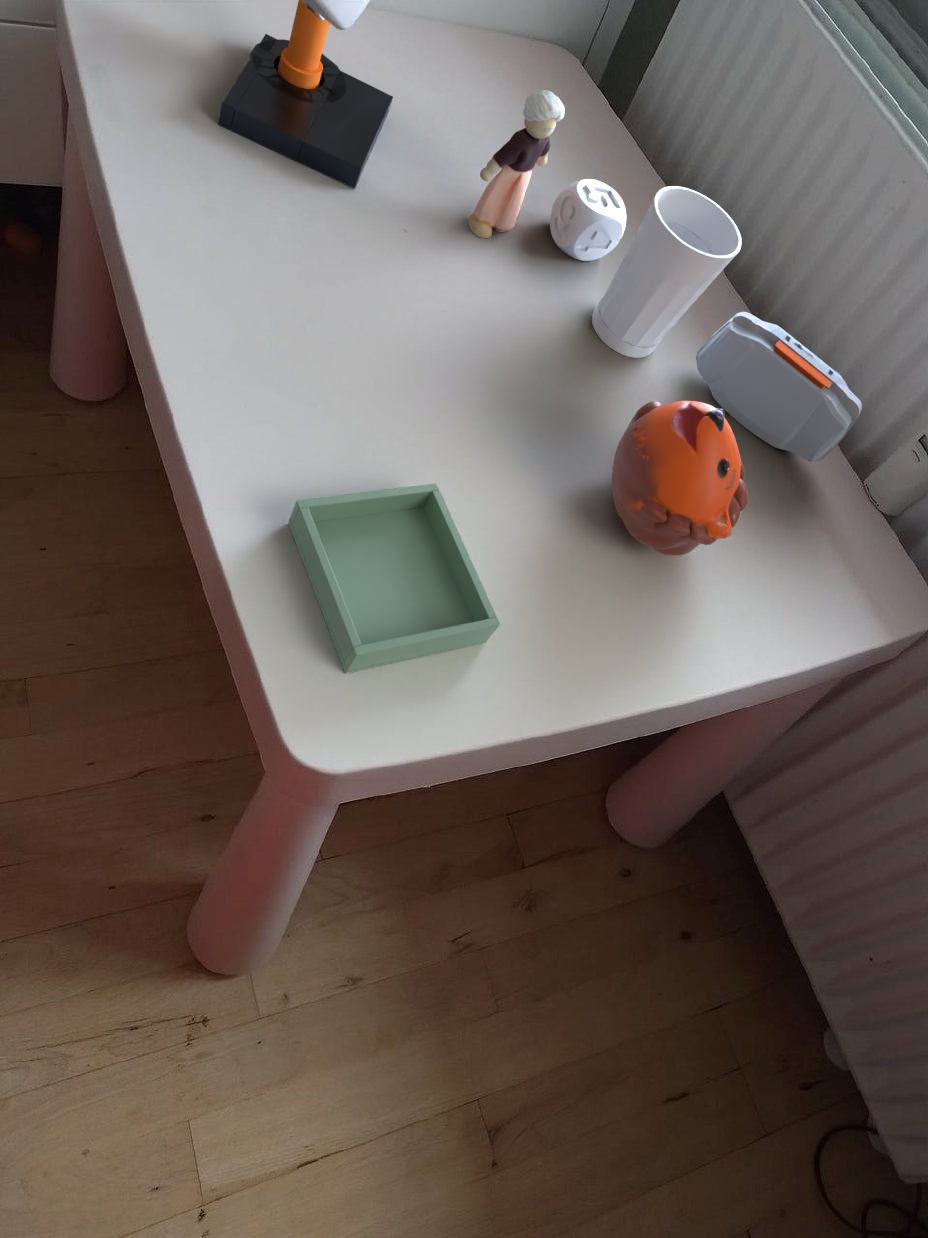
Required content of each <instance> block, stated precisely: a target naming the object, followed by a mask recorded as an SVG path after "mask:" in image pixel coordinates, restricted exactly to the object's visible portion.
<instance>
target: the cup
mask: <svg viewBox="0 0 928 1238" xmlns="http://www.w3.org/2000/svg"><path fill="white" fill-rule="evenodd" d="M641 220H642V221H641V223H640V224H639V226H638V228H637V231H636V234H635V237H634V239H633V240H632V242H631V244H630V246H629V248H628V250H627V251H626V254H625V255H624V257H623V259H622V261H621V262H620V265H619V267H618V269H617V270H616V272H615V274H614V276H613V278H612V280H611V282H610V283H609V285H608V287H607V289H606V291H605V293H604V295H603V296H602V298H601V299H600V300H599V302H598V304H597V305H596V306H595V308H594V310H593V312H592V314H591V324H592V327H593V329H594V332H596V335H597V336H598V338H599V339H600V340H601V341H602V342H603V343H604V344H605V345H606V346H607V347H609V348H610V349H611V350H613V351H615V352H616V353H618V354H620V355H623V356H625V357H629V358H634V359H641V358H645V357H648V356H649V355H651V354H652V352H653V351H654V350H655V348H656V347H657V346H658V344H659V343H660V342H661V341H662V340H663V338H664V337H665V336H666V335H667V334H668V333H669V332H670V330H671V329H673V327H674V326H675V325H676V324H677V323H678V322H679V320H680V319H681V318H682V317H683V316H684V314H685V313H686V312H687V311H688V310H689V309H690V307H692V306H693V304H694V303H695V302H696V301H697V300H698V298H699V297H700V296H701V295H702V294H703V293H704V292H705V291H706V289H707V288H708V287H709V286H710V285H711V284H712V283H713V281H714V280H715V279H716V278H717V277H718V276H719V275H720V274H721V272H722V271H724V269H725V268H726V267H727V266H729V264H730V263H731V262H732V260H733V259H734V258H735V257H736V256H737V255H738V254H739V252H741V251H740V250H741V249H742V235H741V233H740V230H739V228H738V226H737V224H736V223H735V221H734V220H733V218H732V217H731V216H730V214H728V213H727V212H726V211H725V210H724V209H723V208H722V207H721V206H720V205H719V204H718V203H716V202H715V201H714V200H712V199H711V198H709V197H707V195H704V194H703V193H700V192H698V191H696V190H693V189H691V188H688V187H684V186H678V185H670V186H665V187H662V188H660V189H659V190H658V191H656V193H655V195H654V197H653V199H652V200H651V202H650V205H649V207H648V208H647V211H646V212H645V215H644V217H643V218H642V219H641Z"/></svg>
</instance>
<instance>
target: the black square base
mask: <svg viewBox="0 0 928 1238" xmlns="http://www.w3.org/2000/svg"><path fill="white" fill-rule="evenodd" d="M289 40H290V39H277V38H276V37H273V36H272V35H269V34H268V33H265V34H264V35H263V37H262V39H261V41H260V42H258V43H257V44H256V43H255V45H254V47H253V48H252V50H251V51H250V53H249V57H248V61H247V62H246V64H245V66H244V67H243V69H242V70H241V72H240V73H239V75H238V76H237V78H236V80H235V81H234V82H233V85H232V86H231V88H230V89H229V91H228V92H227V93H226V95H225V97H224V98H223V100H222V102H221V105H220V109H219V110H220V111H219V115H218V120H217V125H218V126H220V127H223V128H225V129H227V130H229V131H231V132H232V133H235V134H237V135H240V136H242V137H243V138H246V139H248V140H250V141H252V142H254V143H256V144H258V145H261V146H263V147H265V148H267V149H269V150H271V151H274V152H276V153H278V154H280V155H282V156H284V157H286V158H289V159H291V160H292V161H295V162H297V163H299V164H300V165H304V167H307V168H309V169H312V170H314V171H316V172H318V173H320V174H322V175H324V176H327V177H329V178H331V179H333V180H335V181H337V182H339V183H342V184H344V185H346V186H348V187H350V188H352V189H356V187H357V184H358V182H359V181H360V178H361V175H362V173H363V171H364V169H365V166H366V164H367V162H368V161H369V157H370V155H371V153H372V151H373V148H374V146H375V144H376V142H377V139H378V137H379V135H380V134H381V133H380V132H381V130H382V128H383V126H384V124H385V122H386V119H387V117H388V114H389V112H390V108H391V105H392V102H393V99H394V96H393V95H391V94H389V93H387V92H385V91H382V90H381V89H379V88H376V87H374V86H373V85H372V84H368V83H367V82H364V81H362V80H360V79H359V78H357V77H354V76H352V75H350V74H349V73H346V72H345V71H343V70H340V67H338V65H337V64H336V63H335V62H334V61H332V60H331V59H330V58H328V57H327V56H326V55H325V54H323V53H322V55H321V59H320V61H321V63H322V66H323V70H322V74H321V78H320V81H319V85H318V88H317V89H305V88H301V87H297V86H295V85H293V84H291V83H289V82H287V81H286V80H285V79H283V78H282V77H281V76H280V75H279V74H278V72H277V71H278V66H279V62H280V58H281V53H282V51H283V50H284V49H285V48H288V45H289Z"/></svg>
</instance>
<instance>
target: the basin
mask: <svg viewBox="0 0 928 1238" xmlns="http://www.w3.org/2000/svg"><path fill="white" fill-rule="evenodd" d="M438 485H439V484H438V483H428V484H421V485H412V486H404V487H397V488H389V489H379V490H371V491H364V492H355V493H347V494H338V495H331V496H330V495H329V496H322V497H314V498H307V499H306V498H305V499H298V500H296V501H295V502H294V503H295V504H294V506H293V508H292V512H291V514H290V517H289V519H288V522H287V523H288V526H289V529H290V531H291V534H292V537H293V539H294V542H295V545H296V547H297V550H298V553H299V555H300V558H301V560H302V563H303V566H304V568H305V571H306V574H307V576H308V579H309V581H310V585H311V587H312V589H313V593H314V595H315V597H316V601H317V603H318V606H319V608H320V610H321V613H322V616H323V619H324V622H325V624H326V627H327V629H328V632H329V635H330V638H331V640H332V642H333V645H334V647H335V650H336V652H337V656H338V658H339V661H340V664H341V666H342V669H343V671H344V673H345V674H350V673H353V672H358V671H364V670H368V669H372V668H376V667H381V666H385V665H389V664H390V665H391V664H394V663H395V664H396V663H399V662H405V661H407V660H413V659H418V658H421V657H426V656H430V655H431V656H432V655H435V654H440V653H445V652H449V651H455V650H457V649H463V648H467V647H468V648H469V647H471V646H476V645H481V644H486V643H487V642H488V641H489V639H490V638H491V637H492V635H494V633H495V632H496V631H497V629H498V628H499V627H500V626H501V623H500V621H499V619H498V616H497V613H496V612H495V610H494V608H493V605H492V602H491V601H490V598H489V596H488V594H487V592H486V590H485V587H484V585H483V583H482V581H481V578H480V575H479V574H478V572H477V570H476V567H475V565H474V563H473V560H472V559H471V557H470V554H469V552H468V549H467V548H466V545H465V543H464V541H463V538H462V536H461V534H460V532H459V529H458V528H457V525H456V522H455V520H454V518H453V516H452V514H451V512H450V509H449V507H448V505H447V503H446V501H445V498H444V496H443V494H442V492H441V490H440V488H439V486H438Z"/></svg>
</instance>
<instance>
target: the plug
mask: <svg viewBox="0 0 928 1238" xmlns="http://www.w3.org/2000/svg"><path fill="white" fill-rule="evenodd" d="M291 28H292V29H291V32H290V36H289V39H288V40H289V45H288V48H285V49H284V50H283V51H282V53H281V58H280V62H279V66H278V71H277V72H278V74H279V75H280V76H281V77H282V78H283V79H285V80H286V81H287V82H289V83H291V84H293V85H295V86H297V87H301V88H305V89H317V88H318V85H319V81H320V78H321V74H322V70H323V66H322V63H321V61H320V59H321V55H322V54H323V51H324V48H325V47H324V46H325V42H326V39H327V36H328V31H329V28H330V23H329V22H328V21H327V20H326V19H325V20H321V19H320V18H319V17H317V16H316V15H315V14H314V13H313V12H311V11H310V10H309V9H308V8H307V7H306V4H305V3H304V2H303V1H302V0H298V2H297V7H296V10H295V15H294V19H293V23H292V27H291Z"/></svg>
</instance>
